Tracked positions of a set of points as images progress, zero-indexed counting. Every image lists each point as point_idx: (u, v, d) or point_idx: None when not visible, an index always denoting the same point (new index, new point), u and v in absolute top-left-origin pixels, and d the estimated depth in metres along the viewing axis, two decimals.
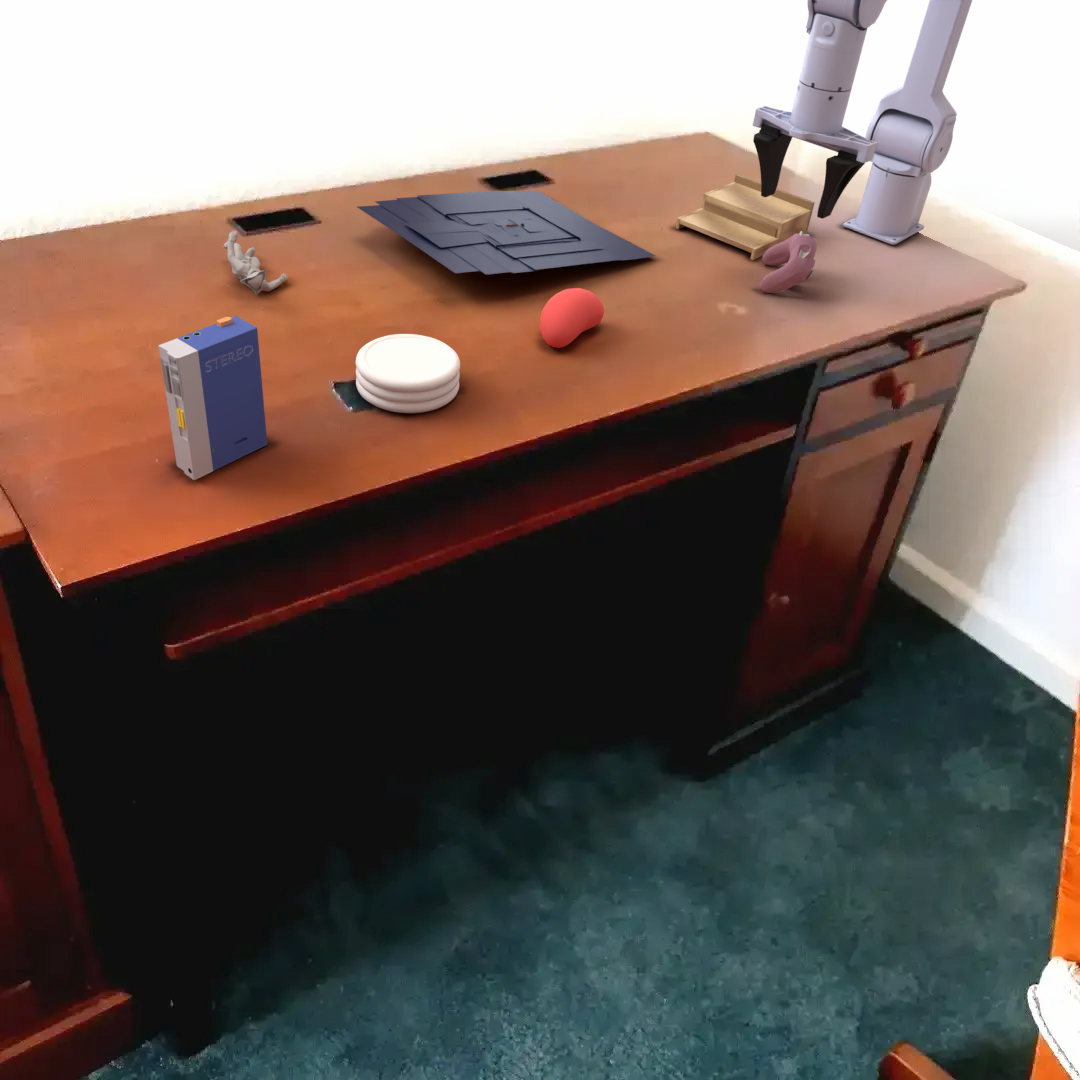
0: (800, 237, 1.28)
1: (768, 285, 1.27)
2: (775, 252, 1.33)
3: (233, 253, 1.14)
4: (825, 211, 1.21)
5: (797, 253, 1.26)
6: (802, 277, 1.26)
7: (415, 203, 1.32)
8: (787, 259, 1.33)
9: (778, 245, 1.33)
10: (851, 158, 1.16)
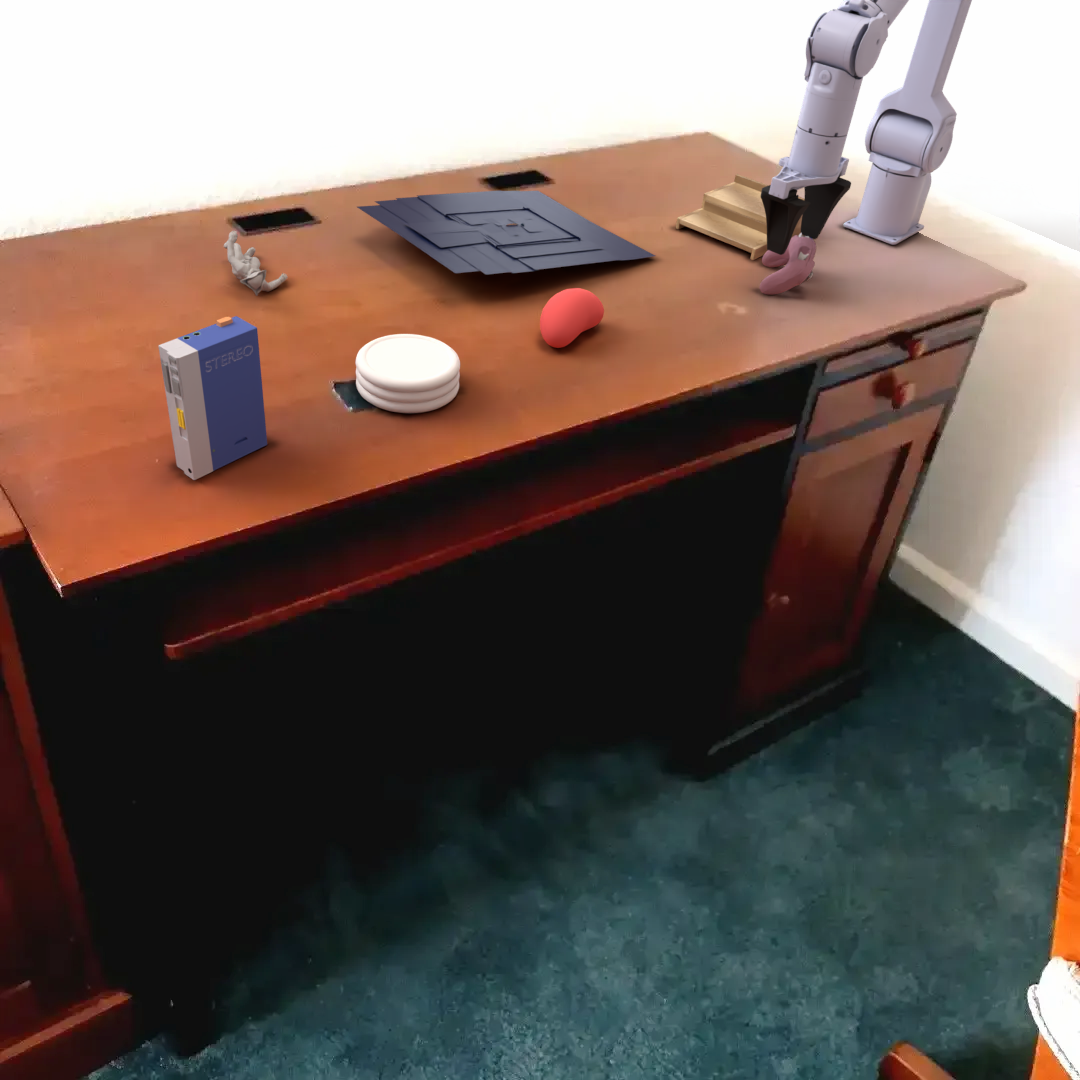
0: (800, 239, 1.28)
1: (767, 286, 1.27)
2: (775, 254, 1.33)
3: (233, 253, 1.14)
4: (769, 243, 1.25)
5: (797, 255, 1.26)
6: (801, 279, 1.26)
7: (415, 203, 1.32)
8: (787, 261, 1.33)
9: None
10: None
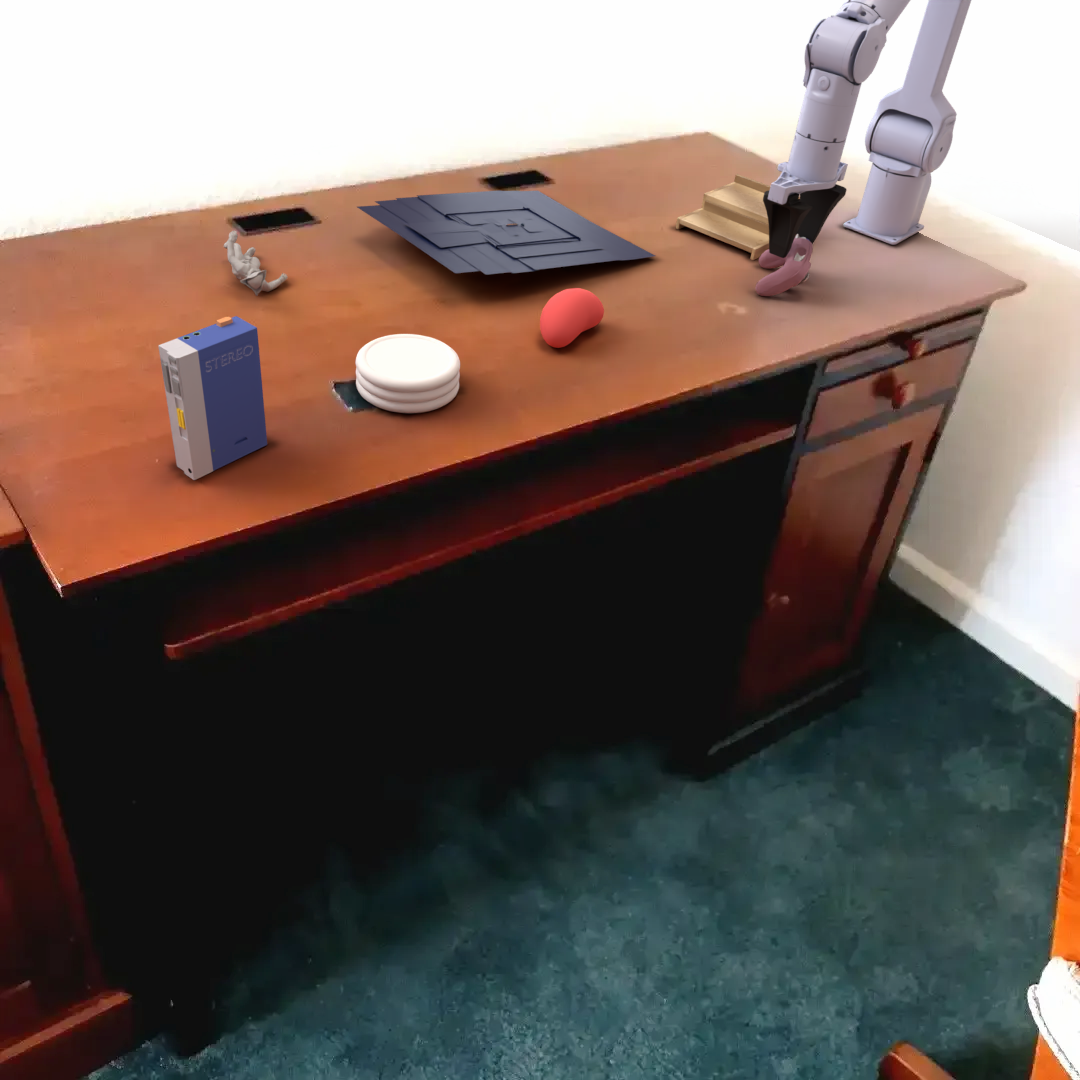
0: (796, 240, 1.27)
1: (763, 288, 1.26)
2: (771, 255, 1.32)
3: (233, 253, 1.14)
4: (771, 246, 1.26)
5: (793, 256, 1.25)
6: (798, 280, 1.25)
7: (416, 203, 1.32)
8: (783, 262, 1.32)
9: None
10: None
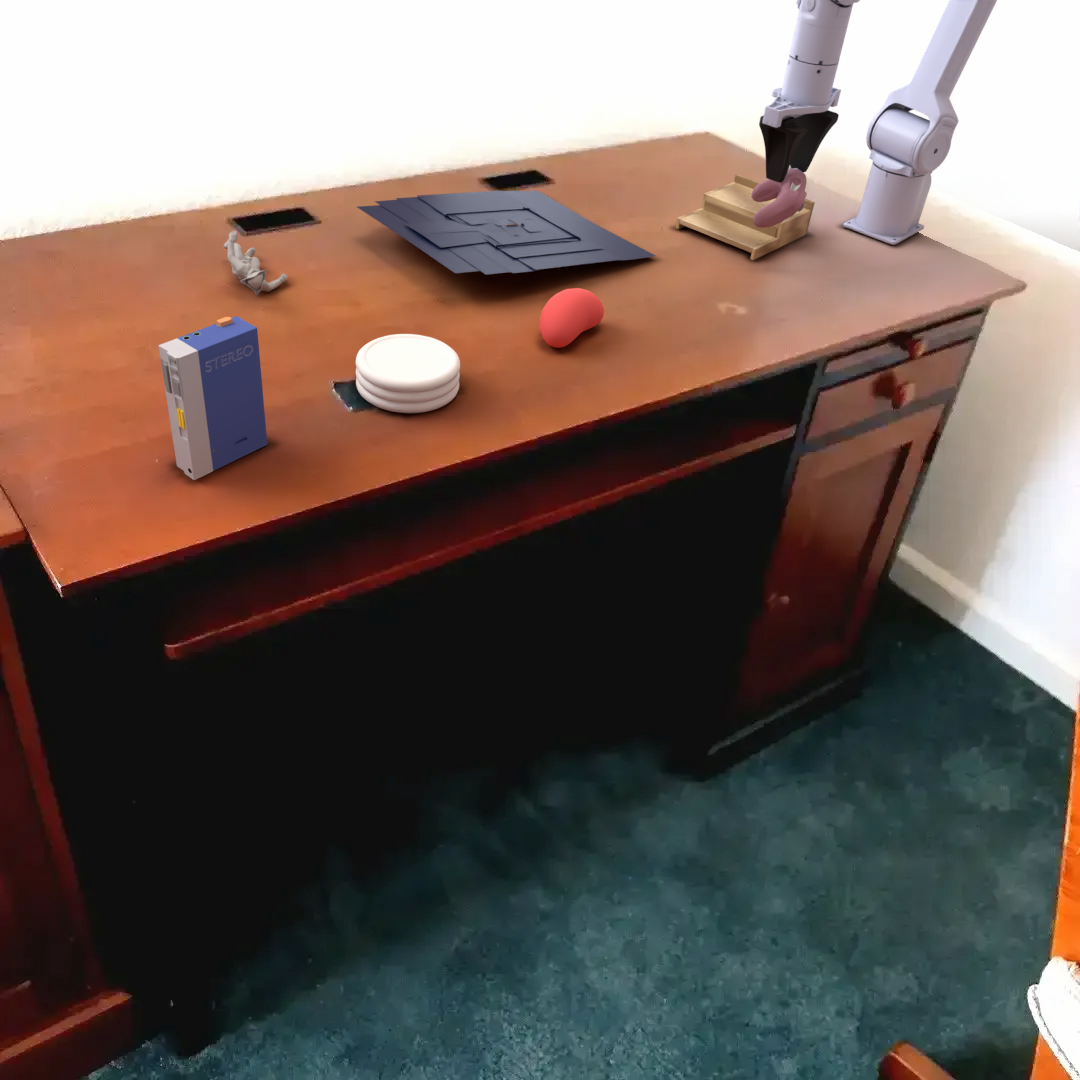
0: (790, 171, 1.30)
1: (761, 219, 1.29)
2: (764, 188, 1.35)
3: (233, 253, 1.14)
4: (768, 171, 1.29)
5: (789, 186, 1.28)
6: (795, 210, 1.28)
7: (415, 203, 1.32)
8: (776, 194, 1.35)
9: (767, 181, 1.34)
10: None
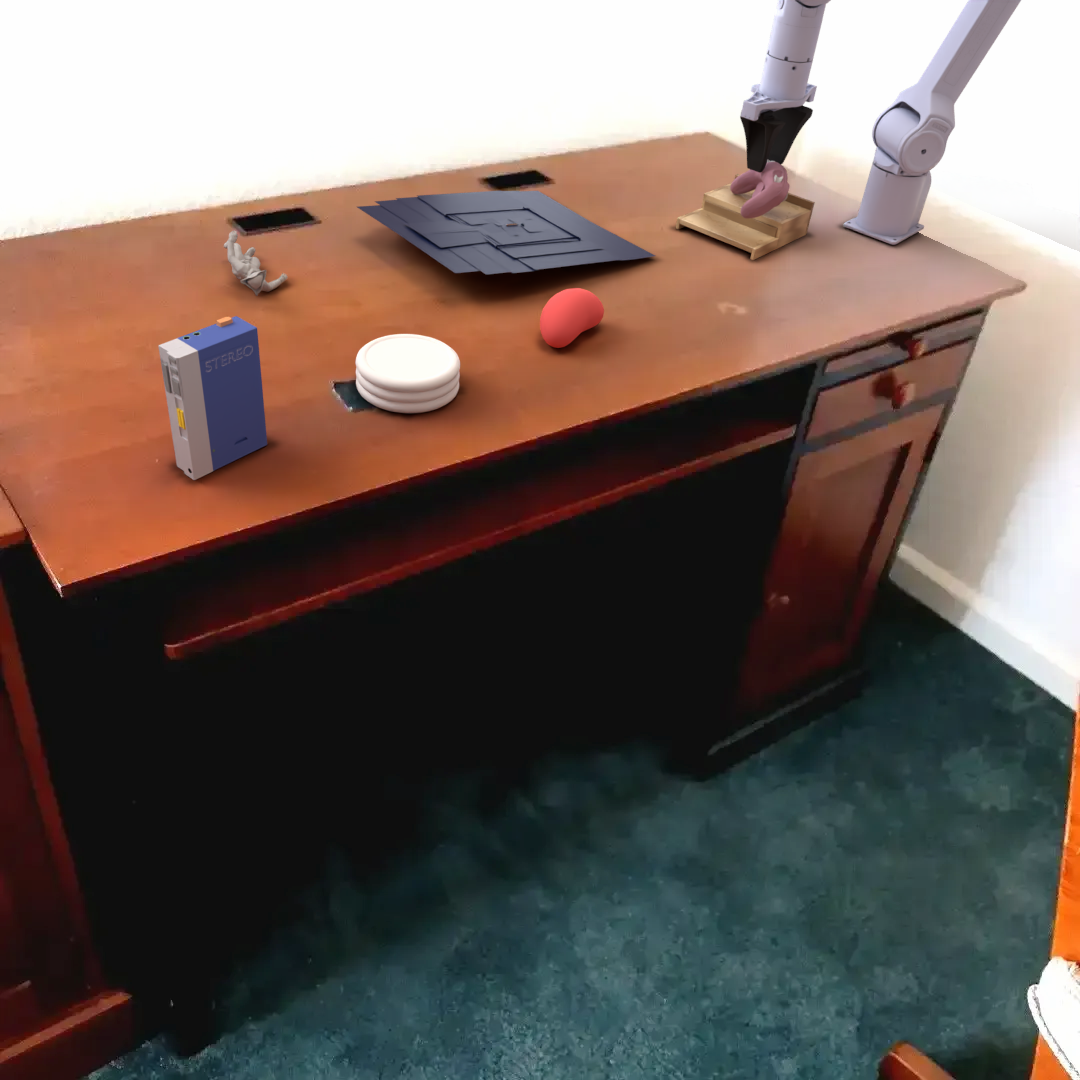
0: (770, 163, 1.37)
1: (749, 210, 1.36)
2: (743, 181, 1.42)
3: (233, 253, 1.14)
4: (749, 161, 1.37)
5: (772, 178, 1.35)
6: (780, 200, 1.35)
7: (415, 203, 1.32)
8: (754, 186, 1.42)
9: (745, 174, 1.41)
10: None
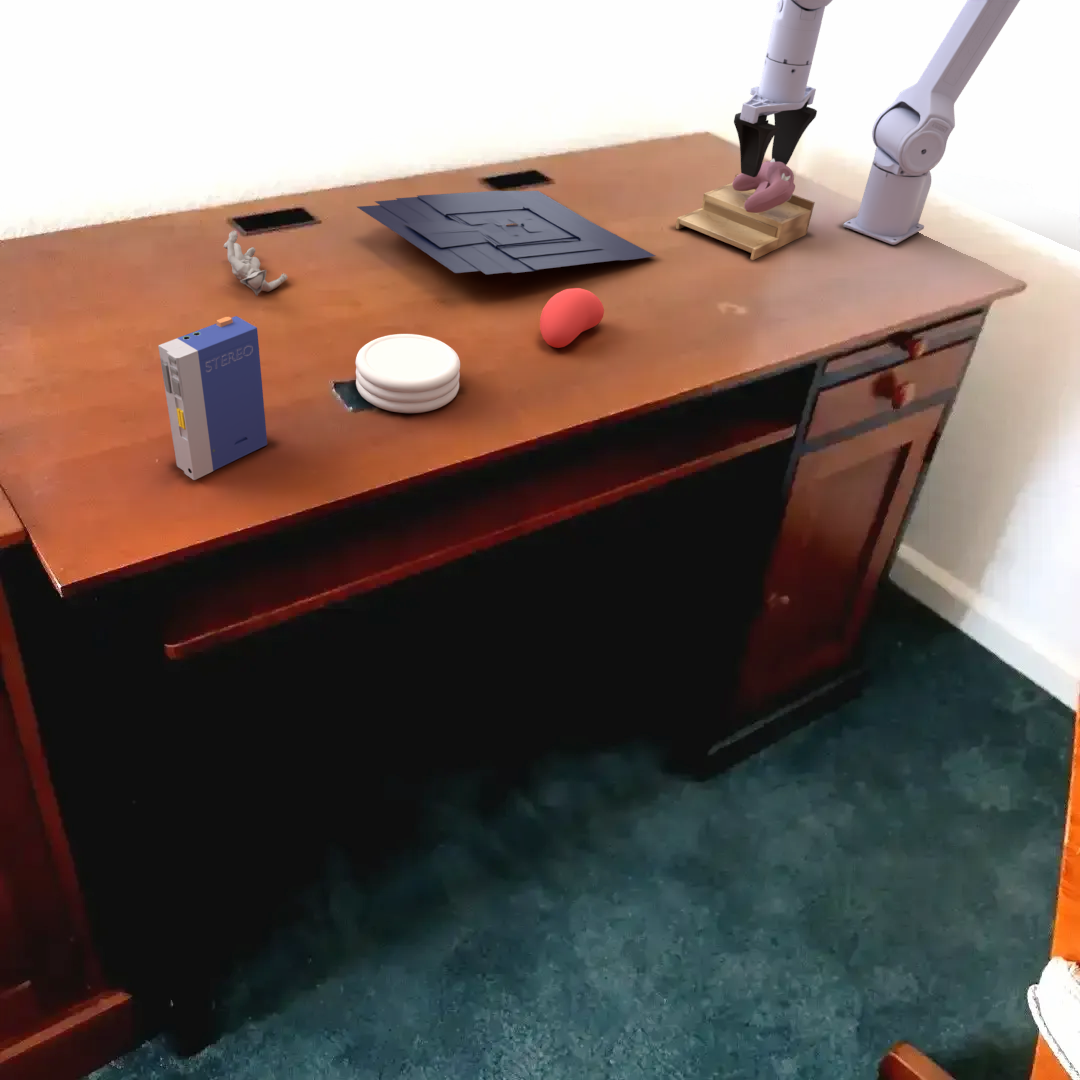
0: (778, 163, 1.37)
1: (753, 204, 1.35)
2: (746, 178, 1.41)
3: (233, 253, 1.14)
4: (742, 166, 1.36)
5: (780, 176, 1.35)
6: (785, 198, 1.35)
7: (415, 203, 1.32)
8: (756, 185, 1.42)
9: None
10: None
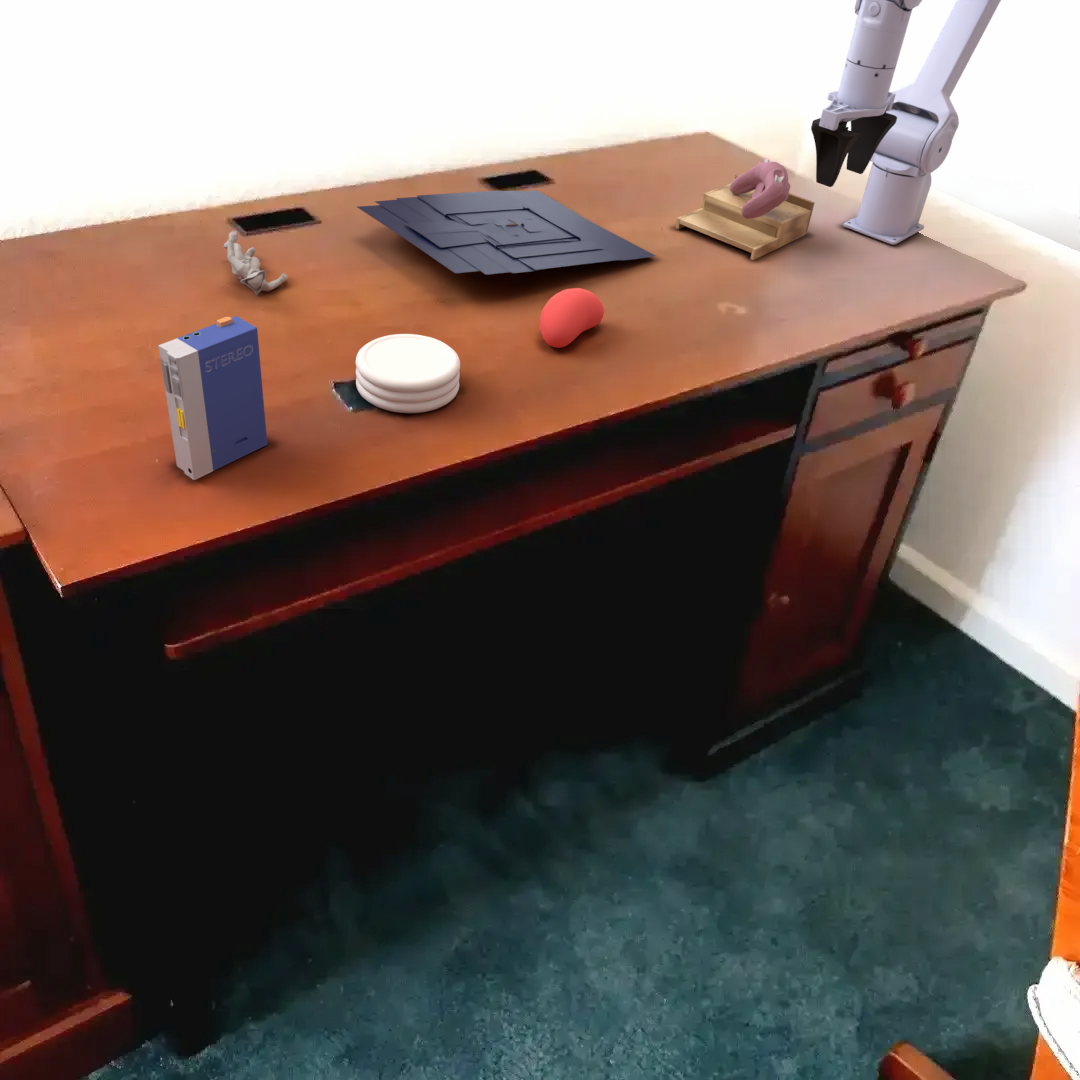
0: (770, 163, 1.37)
1: (750, 211, 1.36)
2: (742, 181, 1.42)
3: (233, 253, 1.14)
4: (818, 175, 1.29)
5: (773, 178, 1.35)
6: (781, 200, 1.35)
7: (415, 203, 1.32)
8: (754, 186, 1.42)
9: (745, 174, 1.41)
10: None
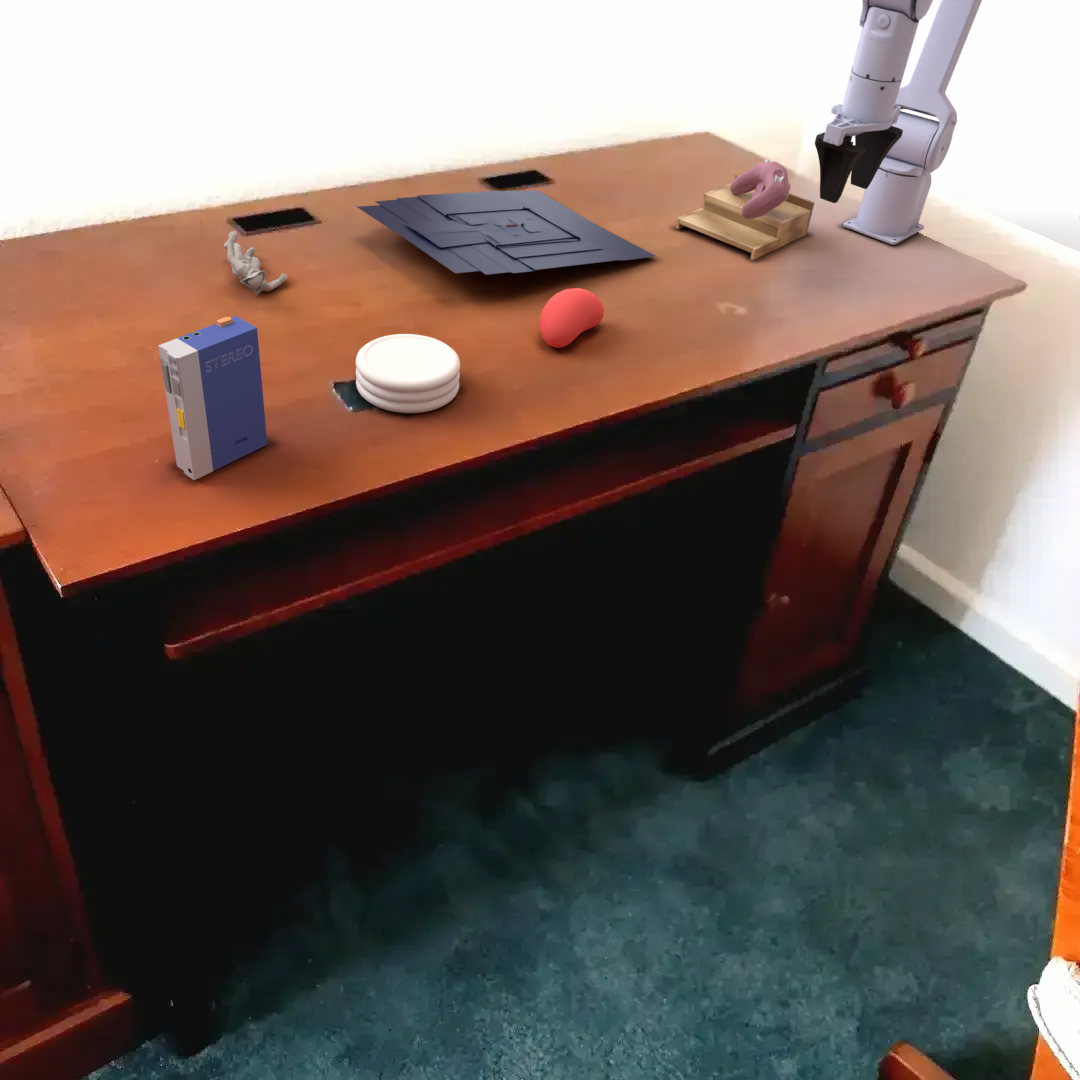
0: (770, 163, 1.37)
1: (750, 211, 1.36)
2: (742, 181, 1.42)
3: (233, 253, 1.14)
4: (822, 191, 1.25)
5: (773, 178, 1.35)
6: (781, 200, 1.35)
7: (415, 203, 1.32)
8: (754, 186, 1.42)
9: (745, 174, 1.41)
10: None
